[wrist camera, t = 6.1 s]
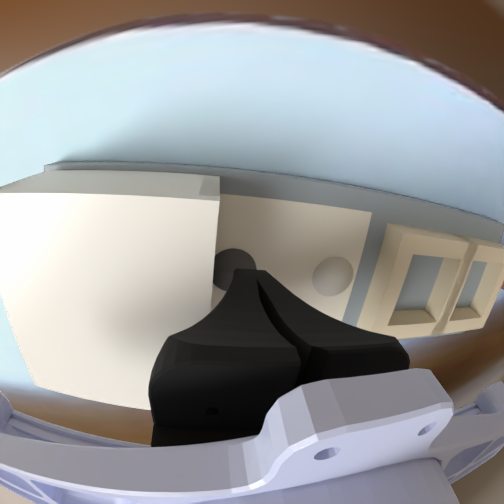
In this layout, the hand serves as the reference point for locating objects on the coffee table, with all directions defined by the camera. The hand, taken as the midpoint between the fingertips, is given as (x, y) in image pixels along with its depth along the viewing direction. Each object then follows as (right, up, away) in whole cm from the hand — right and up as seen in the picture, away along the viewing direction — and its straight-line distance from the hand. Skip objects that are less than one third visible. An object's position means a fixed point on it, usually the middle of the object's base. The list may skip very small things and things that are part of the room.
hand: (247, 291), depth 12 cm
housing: (-6, +1, +1) cm, 6 cm away
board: (+4, +1, +3) cm, 5 cm away
